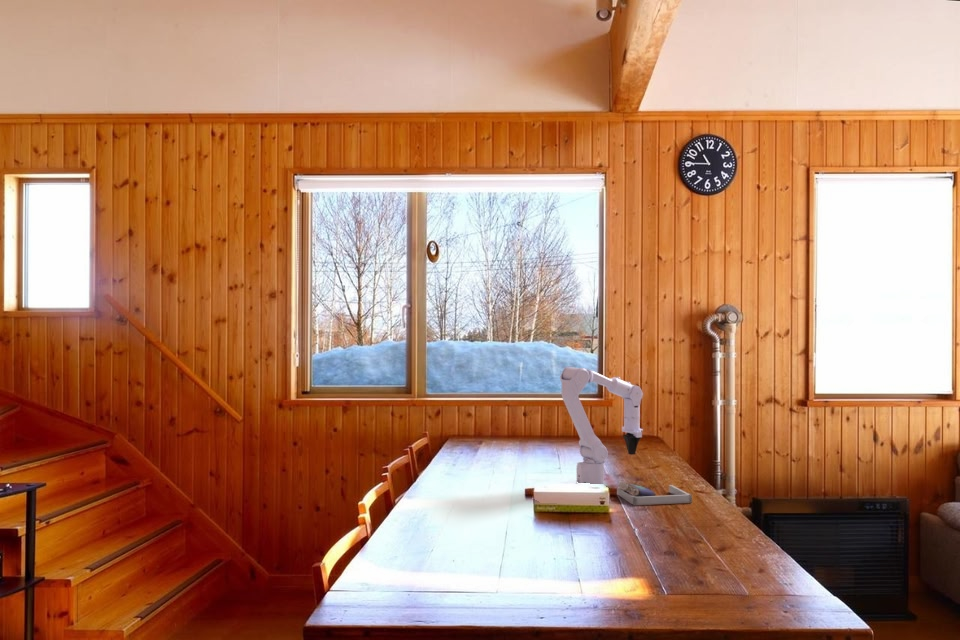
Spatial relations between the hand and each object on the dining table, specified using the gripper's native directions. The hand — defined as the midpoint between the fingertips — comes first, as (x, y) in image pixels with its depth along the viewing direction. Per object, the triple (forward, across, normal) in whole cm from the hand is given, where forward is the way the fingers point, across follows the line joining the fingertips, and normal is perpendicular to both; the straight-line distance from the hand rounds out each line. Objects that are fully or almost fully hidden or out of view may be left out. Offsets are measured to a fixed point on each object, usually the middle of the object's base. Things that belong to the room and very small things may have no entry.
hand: (631, 454), depth 272 cm
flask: (+9, -22, +4) cm, 24 cm away
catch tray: (+10, -24, +2) cm, 26 cm away
